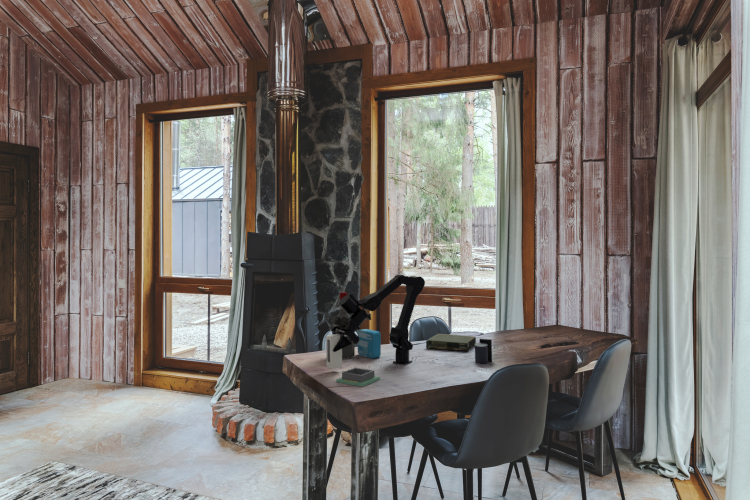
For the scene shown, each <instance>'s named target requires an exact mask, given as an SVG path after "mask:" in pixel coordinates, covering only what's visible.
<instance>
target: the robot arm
mask: <svg viewBox="0 0 750 500" xmlns="http://www.w3.org/2000/svg"><path fill="white" fill-rule="evenodd" d="M402 285H405V291H406V295H405V298H404V301H403V305H402V308H401V312H400V315H399V318H398V321H397V324H396V325H395V327H393V326H392V327H391V328H390V332H389V334H388V336H389V338H388V339H389V342H390V343H391V345H392V348H395V353H394V355H395V356H394V357H395V360H393V361H392V363H393V364H397V365H398V364H399V365H408V364H410V363H412V362H413V360H410V351H412V350H413V347H414V344H413V343H412V342H411V341H410V340H409V337H410V333H409V332H410V331H409V325H410V322H411V318H412V314H413V312H414V308H415V305H416V301H417V298H418V297H419V295H420V294H421V293H422V291H423V290H424V288H425V285H426V281H425V278H424V277H422V276H419V275H409V276H407V275H403V274H395V275H394V277H393V278H391V279H390V280H389V281H387V282H386V283H385V284H384V285H382V286H381V287H380V288H379V289H377V290H376V291H374V292H371V293H370V294H367V295H365V296H363V297H362V298H361V299H359V300H357V299H356V298H355V297H354V295H353V294H352V293H347V296H345V297H343V298H342V299H341V300H340V299H339V301H338V306H339V307H340V306H341V307H342V308H343V310H344V311H345V312H346V313H347V314H349V315H350V314H351V315H350V317H349V318H346V317H344V316H341V317H337V315H334V314H333V316H332V317H331V320H330V323H331V326H330V327H329V331H331V335H333V334H338V335H340V340H339V341H338V343H337V344H336V346H335V347H334V349H333V351H334V352H336V351H338V350H340V349H342V348H344V347H346V346H349V345H352V343H351V342H352V341H353V343H354V344H355V345H357V346H358V342H359V341H360V338H359V337H358V334H356V333H355V332H356V331H359V330H361V325H362V324H363V323H364V321H365V320H368V321H372V313H369V312H375V311H376V310H377V309H378V308H379V307H380V306H381V305H382V303H383V301H384V300H385V299H386V298H387V297H388V296H389V295H391V294H392V293H393V292H395V290H398V288H399V287H401V286H402ZM368 311H369V312H368ZM332 323H334V324H336V325H339V326H336V325H332Z"/></svg>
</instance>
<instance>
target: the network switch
mask: <svg viewBox="0 0 750 500" xmlns="http://www.w3.org/2000/svg"><path fill="white" fill-rule="evenodd" d="M475 343H477V338H476V336H473V335H460V334H448V333H436V334H435V335H433V336H431V337H430V338H428V339H427V340H426V341H425V345H426V346H425V347H426V349H427V350H429V349H434V350H436V349H437V350H444V351H446V350H448V351H451V350H452V351H460V352H463V351H464V352H465V353H467V352H468V351H469V350H470V349H471V348H473V347H475V345H474V344H475Z"/></svg>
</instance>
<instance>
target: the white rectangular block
mask: <svg viewBox="0 0 750 500" xmlns="http://www.w3.org/2000/svg"><path fill="white" fill-rule="evenodd" d="M339 340H340V335H338V334H333V335H332V334H328V335H327V334H326V341H325V342H326V352H325V353H326V359H325V361H326V368H328V369H330V370H336V369H343V359H342V349H340V350H338V351H336V352H334V351H333V349H334V347H335V346H336V344H337V343H338V341H339Z"/></svg>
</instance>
